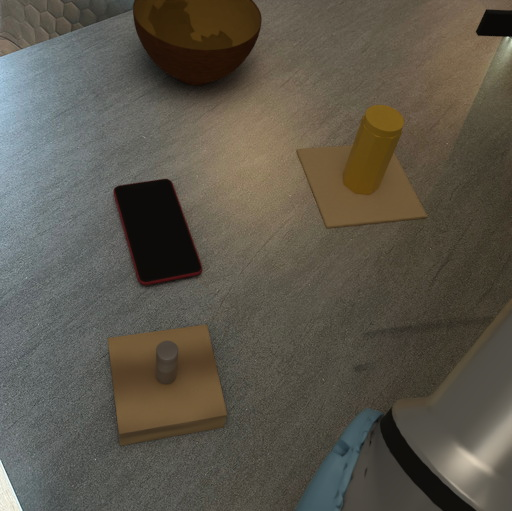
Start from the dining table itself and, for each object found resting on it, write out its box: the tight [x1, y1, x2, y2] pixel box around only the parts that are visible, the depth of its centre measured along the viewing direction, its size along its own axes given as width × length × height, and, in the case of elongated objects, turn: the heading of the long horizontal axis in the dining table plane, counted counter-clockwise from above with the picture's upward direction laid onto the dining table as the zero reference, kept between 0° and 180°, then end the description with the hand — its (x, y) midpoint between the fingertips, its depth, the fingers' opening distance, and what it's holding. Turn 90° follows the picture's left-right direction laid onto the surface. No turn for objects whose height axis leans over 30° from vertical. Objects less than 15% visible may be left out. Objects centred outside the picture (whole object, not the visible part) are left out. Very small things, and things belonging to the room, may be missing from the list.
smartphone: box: [112, 178, 203, 286], centre depth 74 cm, size 7×1×15 cm
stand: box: [107, 323, 228, 447], centre depth 59 cm, size 10×10×8 cm
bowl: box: [132, 0, 263, 86], centre depth 90 cm, size 18×18×10 cm
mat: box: [295, 144, 428, 229], centre depth 84 cm, size 14×14×1 cm
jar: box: [343, 104, 405, 195], centre depth 80 cm, size 5×5×11 cm
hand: (505, 61), depth 63 cm, fingers open, 13 cm apart
